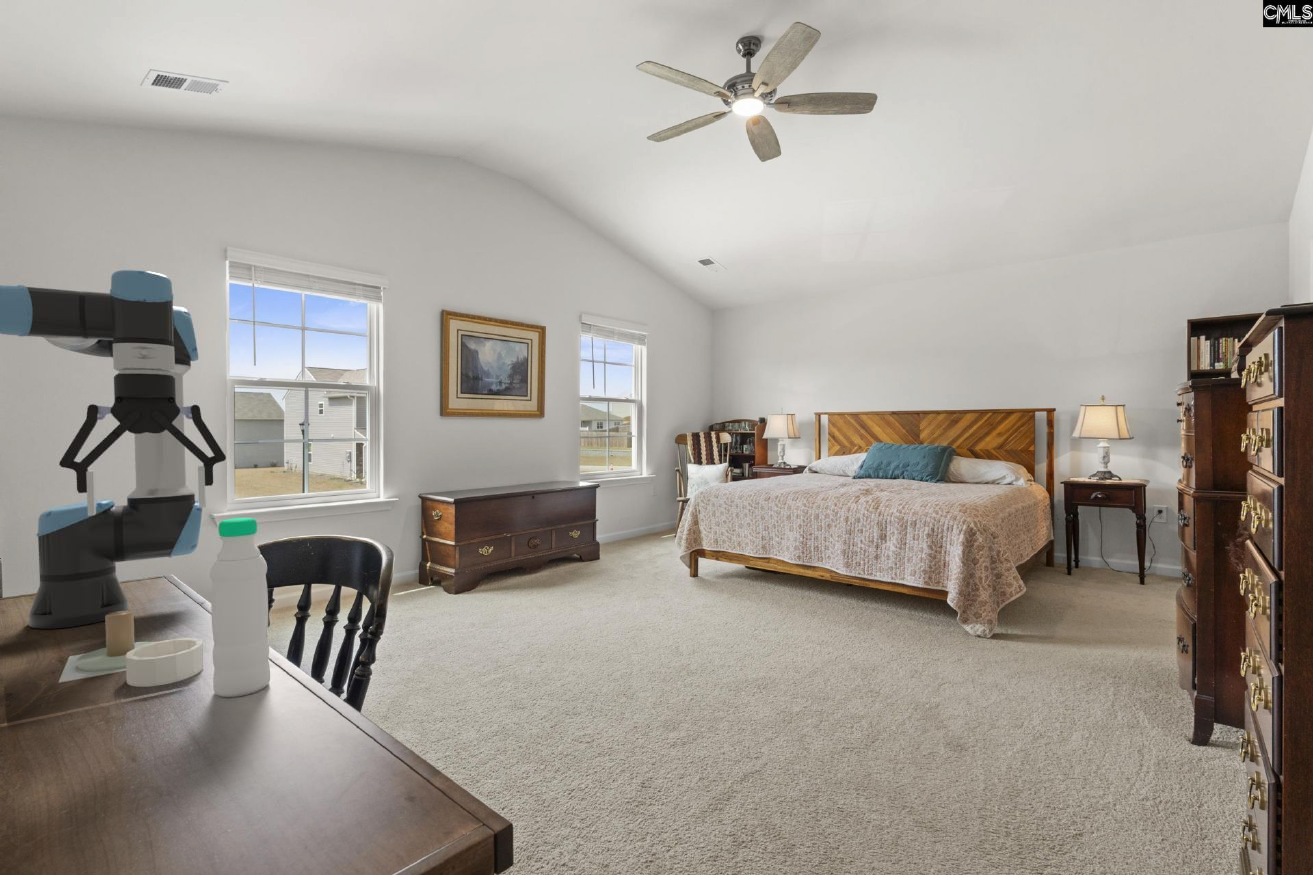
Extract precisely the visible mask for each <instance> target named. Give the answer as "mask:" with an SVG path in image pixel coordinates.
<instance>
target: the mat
mask: <svg viewBox="0 0 1313 875" xmlns="http://www.w3.org/2000/svg"><path fill="white" fill-rule="evenodd" d="M87 653H88V652H87ZM87 653H81V654H75V655H70V656H69V657H68V659H67V661H66V663H65V666H64V667H63V668H64V669H63V671H62V673H61V675H60V678H59V680H58V684H59V683H65V682H71V681H76V680H81V679H87V678H93V677H98V676H99V677H100V676H103V675H108V674H115V673H120V672H126V667H125V668H120V669H114V670H107V671H92V672H91V671H81V670H78V669H77V665H76V660H77V659H78V658H79V657H81V656H82V655H84V654H87Z"/></svg>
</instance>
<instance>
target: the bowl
mask: <svg viewBox="0 0 1313 875" xmlns="http://www.w3.org/2000/svg"><path fill="white" fill-rule="evenodd" d="M153 642H154V643H150V644H147V645H143V646H140V647H137V648H135V649H133V650H131V651H129V652H127V654H126V671H125V673H126V683H127V685H129V686H132V687H139V688H140V687H141V688H142V687H145V688H146V687H157V686H161V685H163V686H164V685H167V684H168V685H169V684H173V683H176V682H180V681H183V680H186V679H189V678H191V677H194V676H196V675H197V674H199V673H201V672H202V671H203V669H204V647H203V646H204V645H203V640H202V639H200V638H193V637H186V638H184V637H183V638H171V639H166V640H165V639H164V640H160V641H153Z"/></svg>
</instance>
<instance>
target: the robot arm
mask: <svg viewBox="0 0 1313 875" xmlns="http://www.w3.org/2000/svg"><path fill="white" fill-rule="evenodd" d="M110 279H111V281H110V282H111V283H110V284H111V285H110V289H109V292H97V291H96V292H95V291H86V290H85V291H83V290H82V291H81V290H68V289H56V288H48V287H47V288H45V287H36V286H35V287H32V286H25V285H22V284H19V285H5V284H4V285H3V284H1V285H0V335H10V336H17V337H38V338H39V337H40V338H43V339H45V341H47V342H48V343H49V344H51V345H53V346H55V347H57V348H60V349H63V350H66V351H70V352H74V353H78V354H84V355H88V356H94V357H98V358H100V357H101V358H112V362H113V364H112V365H113V370H115V371H117V372H118V373H116V374H115V375H114V376H113V394H114V403H113V404H112V406H106V405H105V406H104V405H97V404H89V405H88V406H87V409H86V411H87V412H86V418H85V420H84V422H83V424H82V425H81V427H80V429H79V430H78V432H77V433H76V435H75V436H74V438H73V439H72V441H71V444H70V445H69V446H68V448H67V450H66V451H65V452H64V455H63V456H62V457H61V459H60V461H59V463H58V465H59V466H60V468H66V469H70V470H73V471H74V472H75V474H76V491H77V492H78V494H85V493H86V500H87V501H83V502H78V503H72V504H67V505H61V506H57V507H53V508H49V509H46V510H44V511H43V512H41V514H40V515H39V516H38V523H37V533H36V537H37V538H38V539H37V540H38V544H37V545H38V566H39V570H38V571H39V572H38V573H39V587H38V589H37V591H36V595H35V597H34V600H33V602H32V605H31V607H30V610H29V613H28V626H29V627H30V628H32V629H38V630H39V629H40V630H41V629H46V630H47V629H48V630H49V629H63V628H64V629H65V628H71V627H79V626H85V625H90V624H95V623H99V622H104V621H105V615H107V614H110V613H113V612H118V611H129V602H128V598H127V595H126V594H125V591H124V589H123V587H122V586H121V582H120V581H119V578H118V576H117V567H116V563H121V562H132V561H140V560H141V561H142V560H143V561H144V560H151V559H152V560H153V559H159V558H161V559H162V558H173V557H177V556H185V555H186V556H187V555H190V554H192V553H194V552H195V551H196V550H197V548H198V546H199V545H198V544H199V539H200V532H201V531H200V530H201V524H202V517H203V516H202V514H203V508H206V506H207V505H206V487H211V486H213V484H214V466H215V465H216V464H218V463H222V462H225V461H226V459H227V456H226V455H225V453H224V451H223V449H222V448H221V446H220V445H219V444H218V442H217V439H215V437H214V435H213V434H212V432H211V431H210V429H209V428H208V426H207V425H206V423H205V421H204V420H203V419H202V413H201V408H200V406H199V405H198V404H193V405H189V406H187V405H186V406H184V379H183V378H184V375H185V374H186V373H187V372H189V371H191V369H192V367H191V366H192V364H191V362H196V361H198V360H199V353H198V347H197V339H196V332H195V328H194V324H193V319H192V316H191V313H190V312H189V310H188V309H186V308H185V307H182V306H175V305H174V293H173V284H172V281H171V280H172V279H170V277H168V276H167V275H164V274H161V273H158V272H153V271H145V270H137V269H136V270H135V269H134V270H133V269H121V270H117V271H115V272H113V273H112V274H111V277H110ZM109 414H110V415H111V416H112V417H113V418H114V419H115V420H116V421H117V422H118V423H119V424H118V425H117V426H116V427H115V428H114V429H113V430H112V431H111V432H109V434H108V435H107V436H106V437H104V439H102V440H101V441H100V442H99V444H97V445H96V446H95V447H94V448H93V449H92V450H91V451H90V452H89V453H87V454H86V455H85V457H84V458H82V460H80V461H78V460H75V459H76V458H77V456H78V455H79V453H80V451H81V449H82V448H83V446H84V445H85V443H86V441H87V440H88V438H89V436H90V435H91V434H92V432H93V430H94V428H95V427H96V425H97V424H98V421H99V420H100V421H101V420H104V419H105V417H106V416H107V415H109ZM185 418H186V419H187V420H192V422H193V424H194V426H195V428H196V429H197V431H198V432H199V433H200V435H201V437H202V438H203V440H204V442H205V443H206V445H207V446H208V448H209V449H210V451H211V453H212V454H213V455H211V456H208V454H206V453H205V452H204V451H203V450H202V449H201V448H200V447H199V446H197V445H196V443H194V442H193V441H192V440H191V439H190V438H189V437H188V436H187V435H185ZM126 432H128V433H130V434H134V462H135V466H134V467H135V488H134V490H132V491H131V492H130V493H129V494H128V495H127V496H126V500H127V501H126V502H127V504H125V505H115V504H116V503H115V501H114V500H113V499H109V498H108V499H106V498H105V499H97V500H96V479H95V478H96V477H95V476H96V474H95V470H88V469H89V467H90V466H92V465H93V464H94V463H95V462H96V461H97V460H98V459H99V458H101V456H102V455H103V454H104V453H105V452H106V451H107V450H108V449H109V448H111V446H113V444H115V442H117V441H118V440H119V438H121V437H122V436H123V435H124V434H125V433H126ZM186 449H187V450H188V451H189V452H190V453H192V455H193V456H195V458H197V459H198V460H199V461H200V462H201V463H202V465H198V466H197V476H198V477H197V478H198V480H197V481H198V482H197V483H198V499H196V498H195V496H196V494H195V491H193V490H192V489H191V488H189V487H188V485H187V480H186V478H187V477H186Z"/></svg>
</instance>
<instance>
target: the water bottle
mask: <svg viewBox="0 0 1313 875" xmlns="http://www.w3.org/2000/svg"><path fill="white" fill-rule="evenodd" d="M257 532H258V523H257V520H256V519H255V518H252V517H237V518H228V519H223V520H221V521H220V522H219V524H218V535H219V539H220V540H221V541H222V546H221V548H220V549H219V551H218V553H217V555H216V558H215V560H214V562H213V563H212V565H211V568H210V571H209V576H210V579H211V581H212V582H211V595H210V596H211V598H210V599H211V600H210V601H211V603H210V605H211V607H210V608H211V612H210V613H211V614H210V615H211V626H212V627H211V628H212V638H213V648H212V663H213V668H214V670H213V676H212V677H213V678H212V679H213V680H212V683H213V692H214V694H216V695H217V696H219V697H222V698H236V697H237V698H238V697H244V696H249V695H251V694H254V693H257V692H259V691H261V690H263V689H264V688H266V687H267V686H268V685H269V683H270V681H271V667H270V661H269V655H270V643H269V642H270V641H269V637H268V629H269V598H268V597H269V596H268V594H269V593H268V592H269V591H268V583H267V576H266V575H267V572H268V565H267V561H266V560H265V558H264V557H263V555H262V554H261V551H260V549H259V547H258V546H257V545H256V544H255V541H254V540H255V537H256V536H257V534H256V533H257Z"/></svg>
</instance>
